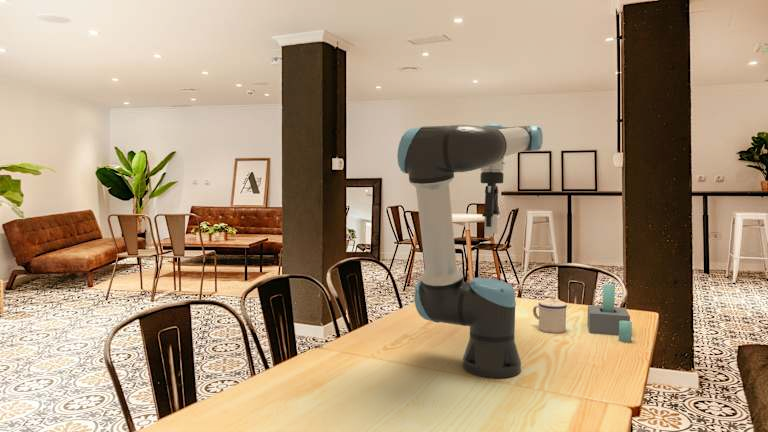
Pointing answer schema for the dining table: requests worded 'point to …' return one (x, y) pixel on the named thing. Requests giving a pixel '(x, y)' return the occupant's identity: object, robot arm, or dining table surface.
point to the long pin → (608, 298)
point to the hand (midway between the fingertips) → (491, 235)
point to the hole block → (605, 320)
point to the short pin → (625, 331)
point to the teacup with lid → (551, 315)
